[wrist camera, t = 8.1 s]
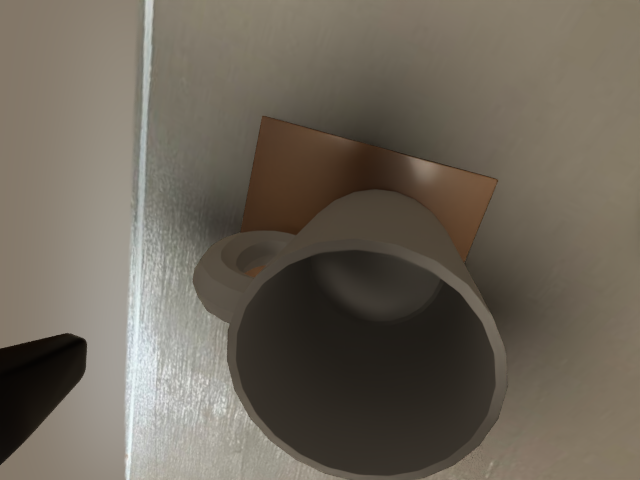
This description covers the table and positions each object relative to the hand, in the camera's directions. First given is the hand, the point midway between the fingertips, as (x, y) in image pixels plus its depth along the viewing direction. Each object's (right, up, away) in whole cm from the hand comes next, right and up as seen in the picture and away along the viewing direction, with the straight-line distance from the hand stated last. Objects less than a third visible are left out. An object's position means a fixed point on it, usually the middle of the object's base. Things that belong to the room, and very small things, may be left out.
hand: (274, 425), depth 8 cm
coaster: (+2, +3, +11) cm, 12 cm away
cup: (+2, +3, +11) cm, 11 cm away
